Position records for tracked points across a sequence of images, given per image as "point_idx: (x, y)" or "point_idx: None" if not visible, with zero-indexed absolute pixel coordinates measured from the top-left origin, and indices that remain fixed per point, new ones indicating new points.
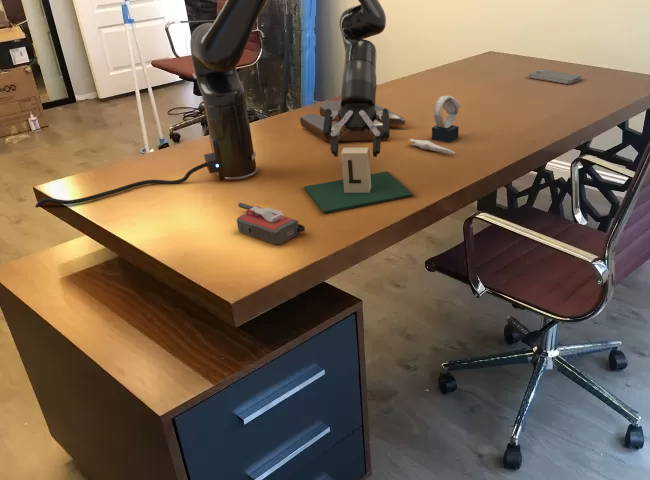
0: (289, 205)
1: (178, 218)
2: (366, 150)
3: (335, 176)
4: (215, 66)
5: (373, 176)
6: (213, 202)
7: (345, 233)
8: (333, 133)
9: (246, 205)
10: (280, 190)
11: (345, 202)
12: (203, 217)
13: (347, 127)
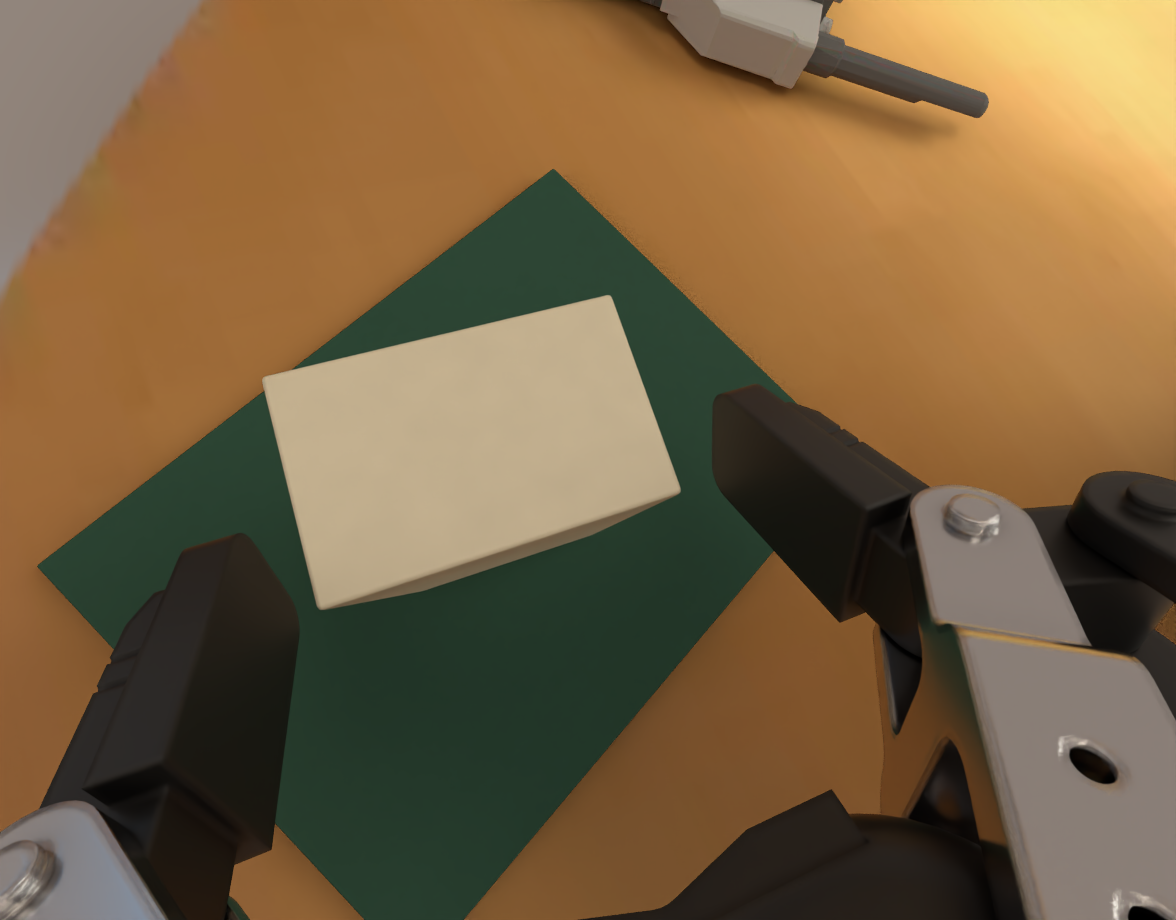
0: (783, 236)
1: (1116, 30)
2: (302, 466)
3: (781, 731)
4: None
5: (486, 801)
6: (1122, 190)
7: (334, 7)
8: (975, 507)
9: (937, 78)
10: (950, 401)
11: (485, 300)
12: (1041, 53)
13: (874, 816)
